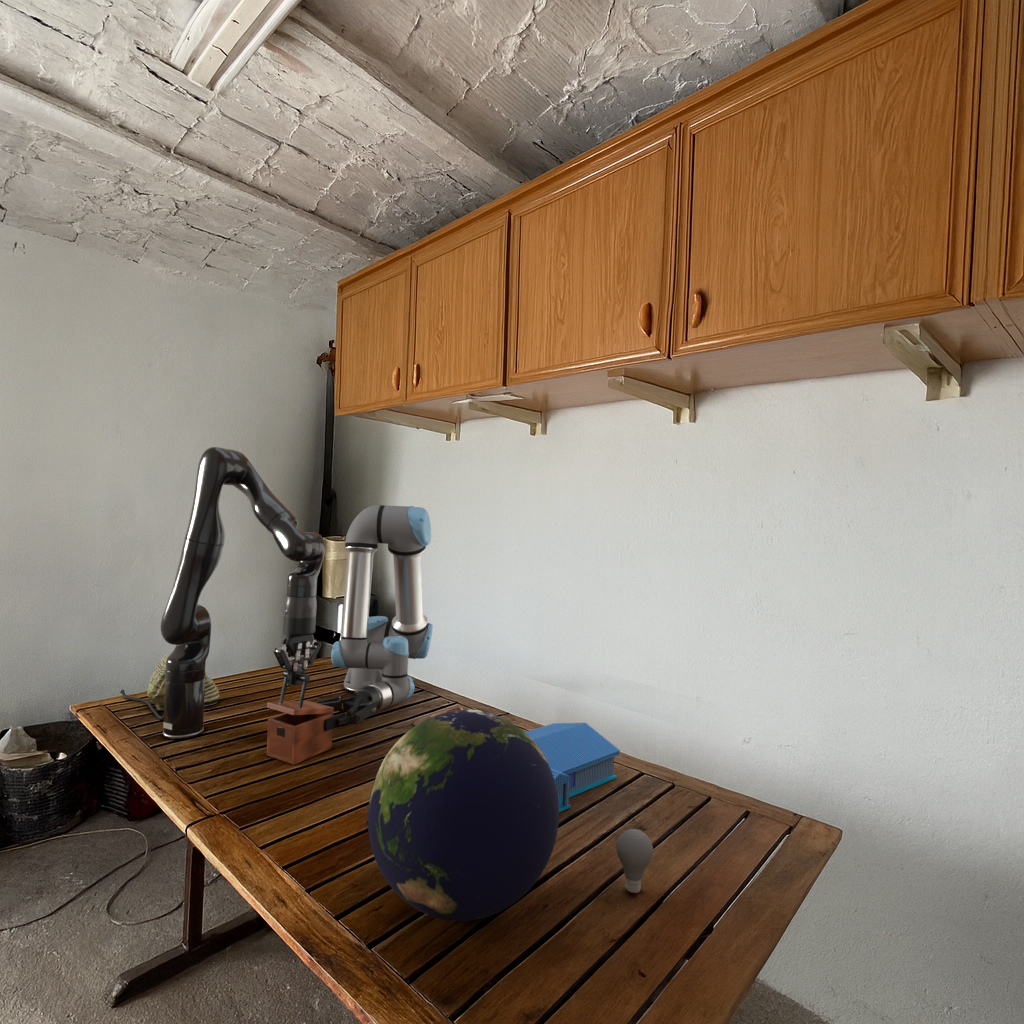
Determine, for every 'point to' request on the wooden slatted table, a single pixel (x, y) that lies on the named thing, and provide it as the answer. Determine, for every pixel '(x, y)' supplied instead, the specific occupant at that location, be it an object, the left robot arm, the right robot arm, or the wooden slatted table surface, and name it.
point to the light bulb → (634, 857)
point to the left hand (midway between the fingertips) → (296, 684)
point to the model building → (575, 757)
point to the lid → (298, 706)
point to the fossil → (158, 687)
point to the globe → (463, 815)
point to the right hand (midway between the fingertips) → (310, 721)
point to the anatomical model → (436, 714)
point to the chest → (298, 736)
